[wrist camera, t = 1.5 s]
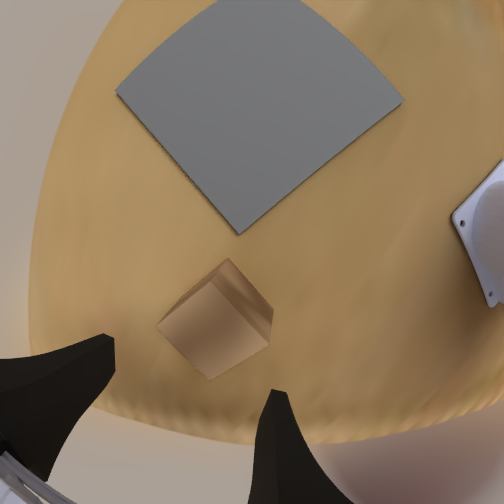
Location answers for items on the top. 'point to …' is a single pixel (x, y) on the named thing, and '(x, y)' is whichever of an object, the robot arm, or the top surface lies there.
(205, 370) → the oak cube
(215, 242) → the top surface
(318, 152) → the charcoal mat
